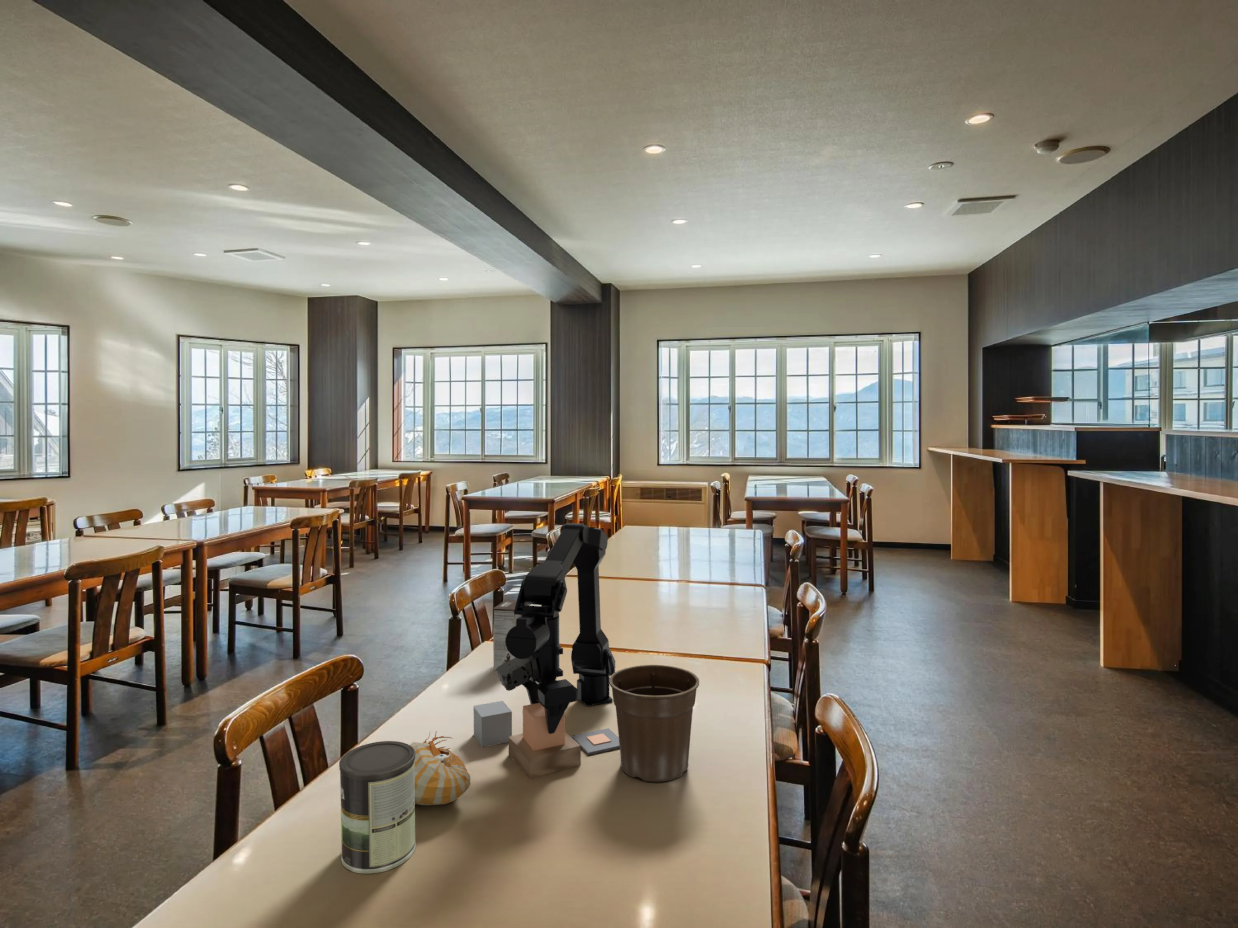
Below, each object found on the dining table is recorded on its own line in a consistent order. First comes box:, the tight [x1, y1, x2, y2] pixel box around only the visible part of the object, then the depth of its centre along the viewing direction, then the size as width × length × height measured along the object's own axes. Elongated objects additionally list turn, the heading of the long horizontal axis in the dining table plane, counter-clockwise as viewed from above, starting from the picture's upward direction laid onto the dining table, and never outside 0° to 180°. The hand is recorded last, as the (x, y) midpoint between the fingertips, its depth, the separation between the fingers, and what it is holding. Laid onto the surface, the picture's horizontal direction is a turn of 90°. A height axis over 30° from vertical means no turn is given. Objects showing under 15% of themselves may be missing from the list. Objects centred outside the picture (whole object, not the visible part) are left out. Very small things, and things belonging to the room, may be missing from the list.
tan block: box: [508, 732, 582, 779], centre depth 128 cm, size 10×10×4 cm
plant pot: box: [609, 664, 700, 783], centre depth 125 cm, size 16×16×16 cm
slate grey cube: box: [473, 700, 513, 748], centre depth 137 cm, size 6×6×6 cm
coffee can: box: [338, 740, 417, 875], centre depth 100 cm, size 10×10×14 cm
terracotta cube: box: [522, 703, 566, 751], centre depth 128 cm, size 6×6×6 cm
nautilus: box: [409, 730, 471, 806], centre depth 118 cm, size 8×22×15 cm
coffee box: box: [492, 599, 529, 671], centre depth 179 cm, size 9×6×16 cm
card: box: [571, 727, 620, 756], centre depth 135 cm, size 8×8×1 cm
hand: (543, 724), depth 128 cm, fingers open, 7 cm apart
